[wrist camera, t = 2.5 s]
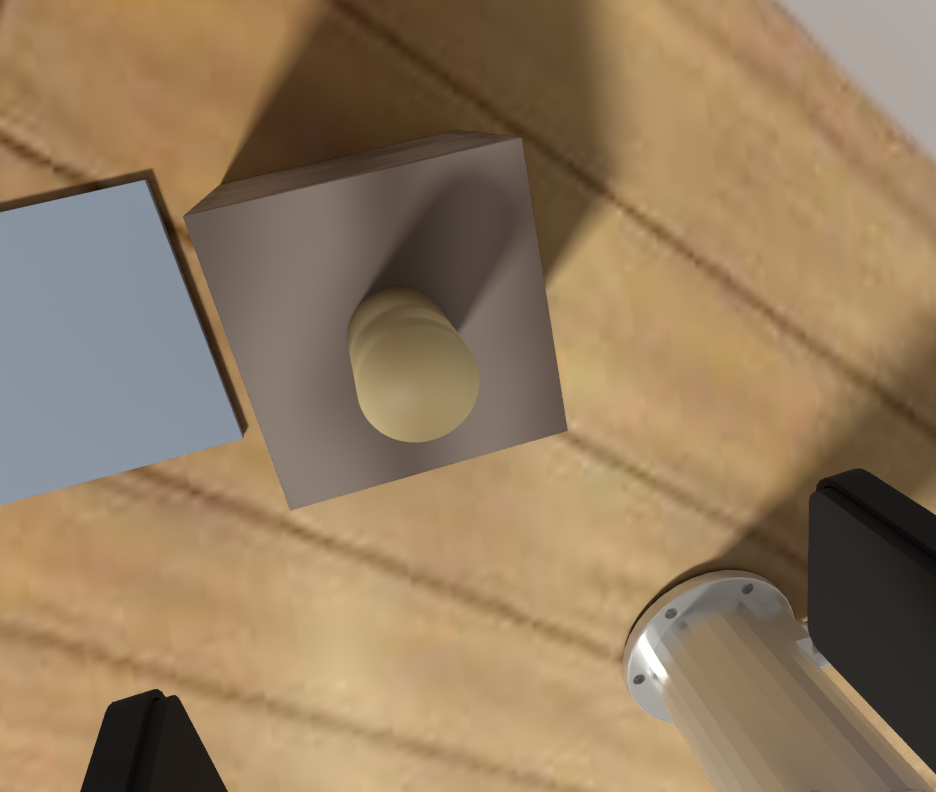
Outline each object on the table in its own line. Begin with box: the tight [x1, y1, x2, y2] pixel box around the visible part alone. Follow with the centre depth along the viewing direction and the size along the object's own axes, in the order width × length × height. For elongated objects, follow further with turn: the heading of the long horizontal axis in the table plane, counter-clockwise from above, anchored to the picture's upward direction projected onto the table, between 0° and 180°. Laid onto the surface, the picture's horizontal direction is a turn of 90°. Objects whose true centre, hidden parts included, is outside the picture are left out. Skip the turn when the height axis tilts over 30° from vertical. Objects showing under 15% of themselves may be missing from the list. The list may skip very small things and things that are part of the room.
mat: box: [0, 179, 244, 505], centre depth 32 cm, size 13×13×1 cm
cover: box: [183, 130, 568, 510], centre depth 27 cm, size 11×11×16 cm
